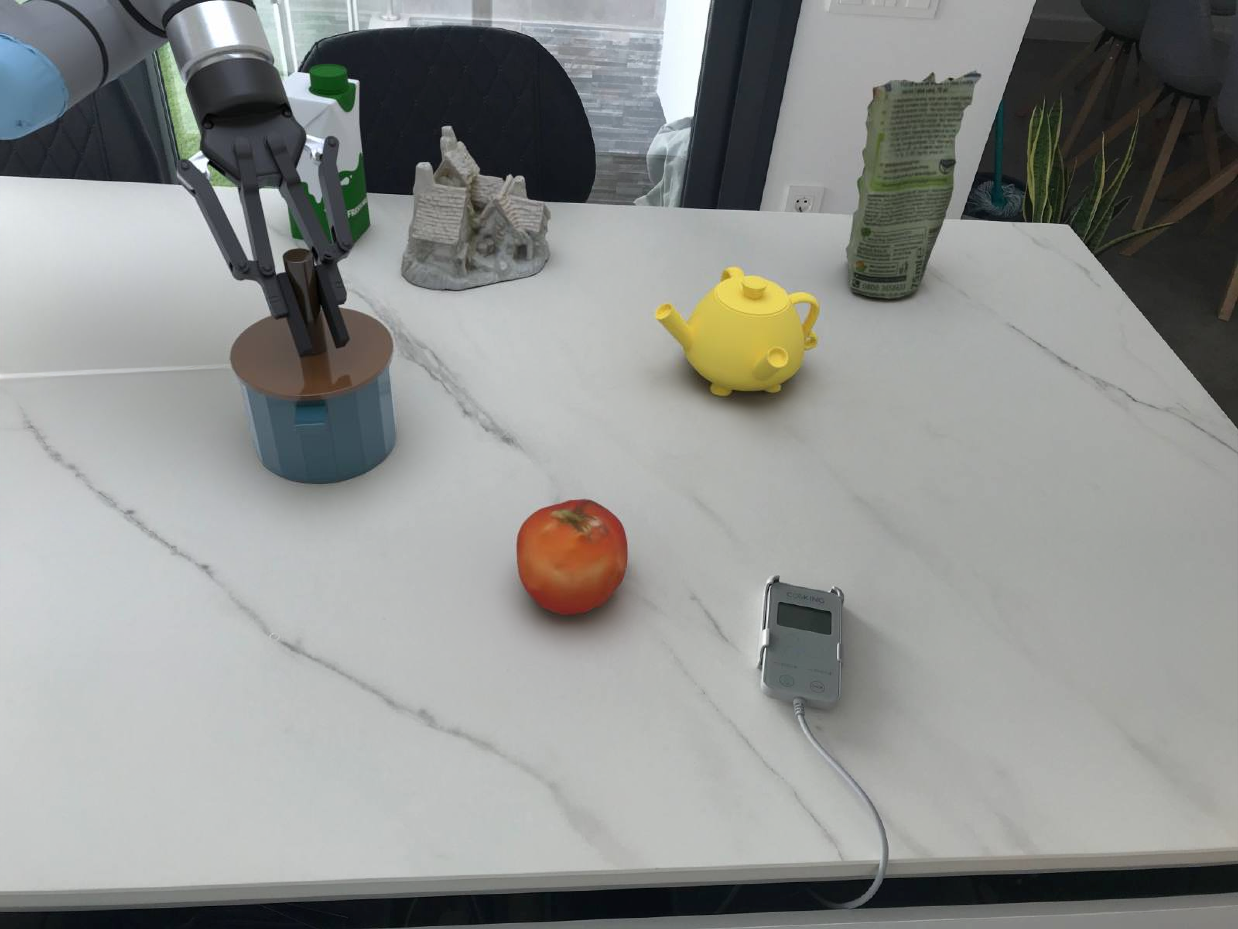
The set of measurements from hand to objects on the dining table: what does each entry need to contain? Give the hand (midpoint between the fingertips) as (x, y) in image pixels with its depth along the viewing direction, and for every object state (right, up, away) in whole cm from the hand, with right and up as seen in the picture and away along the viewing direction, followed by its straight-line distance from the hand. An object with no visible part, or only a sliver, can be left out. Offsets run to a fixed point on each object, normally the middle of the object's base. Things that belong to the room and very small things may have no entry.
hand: (324, 347), depth 80 cm
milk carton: (-11, +19, +40) cm, 46 cm away
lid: (-2, 0, +4) cm, 5 cm away
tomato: (+20, -20, -1) cm, 28 cm away
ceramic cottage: (+7, +15, +37) cm, 40 cm away
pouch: (+56, +13, +41) cm, 71 cm away
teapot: (+36, -1, +23) cm, 43 cm away
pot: (-3, -7, +11) cm, 13 cm away
